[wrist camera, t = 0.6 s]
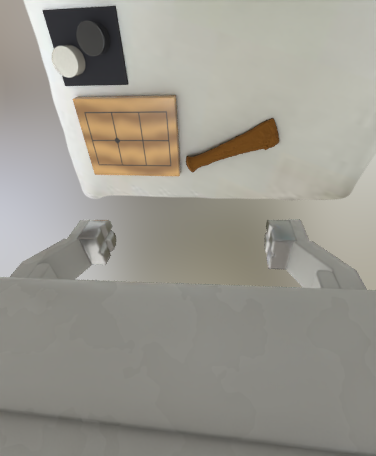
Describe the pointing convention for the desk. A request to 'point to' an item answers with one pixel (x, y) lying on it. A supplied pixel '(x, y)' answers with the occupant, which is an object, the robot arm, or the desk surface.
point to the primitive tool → (239, 145)
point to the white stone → (68, 60)
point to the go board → (131, 134)
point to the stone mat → (94, 65)
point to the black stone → (93, 38)
